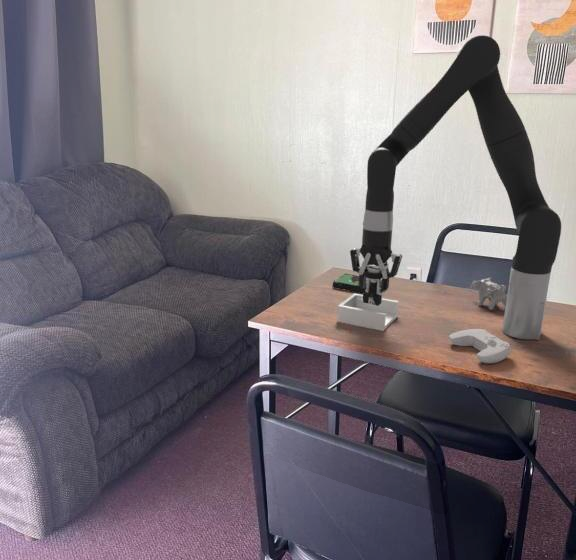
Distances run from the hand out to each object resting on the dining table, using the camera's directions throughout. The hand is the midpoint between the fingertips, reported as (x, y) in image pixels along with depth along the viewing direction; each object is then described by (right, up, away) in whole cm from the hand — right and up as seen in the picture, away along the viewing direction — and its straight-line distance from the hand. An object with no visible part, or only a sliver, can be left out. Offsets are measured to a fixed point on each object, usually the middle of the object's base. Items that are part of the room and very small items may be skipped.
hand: (373, 288), depth 150 cm
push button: (-1, -4, +1) cm, 4 cm away
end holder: (-1, -8, +3) cm, 9 cm away
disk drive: (0, -1, +30) cm, 30 cm away
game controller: (+23, -15, -16) cm, 32 cm away
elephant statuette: (+35, -5, +16) cm, 39 cm away
